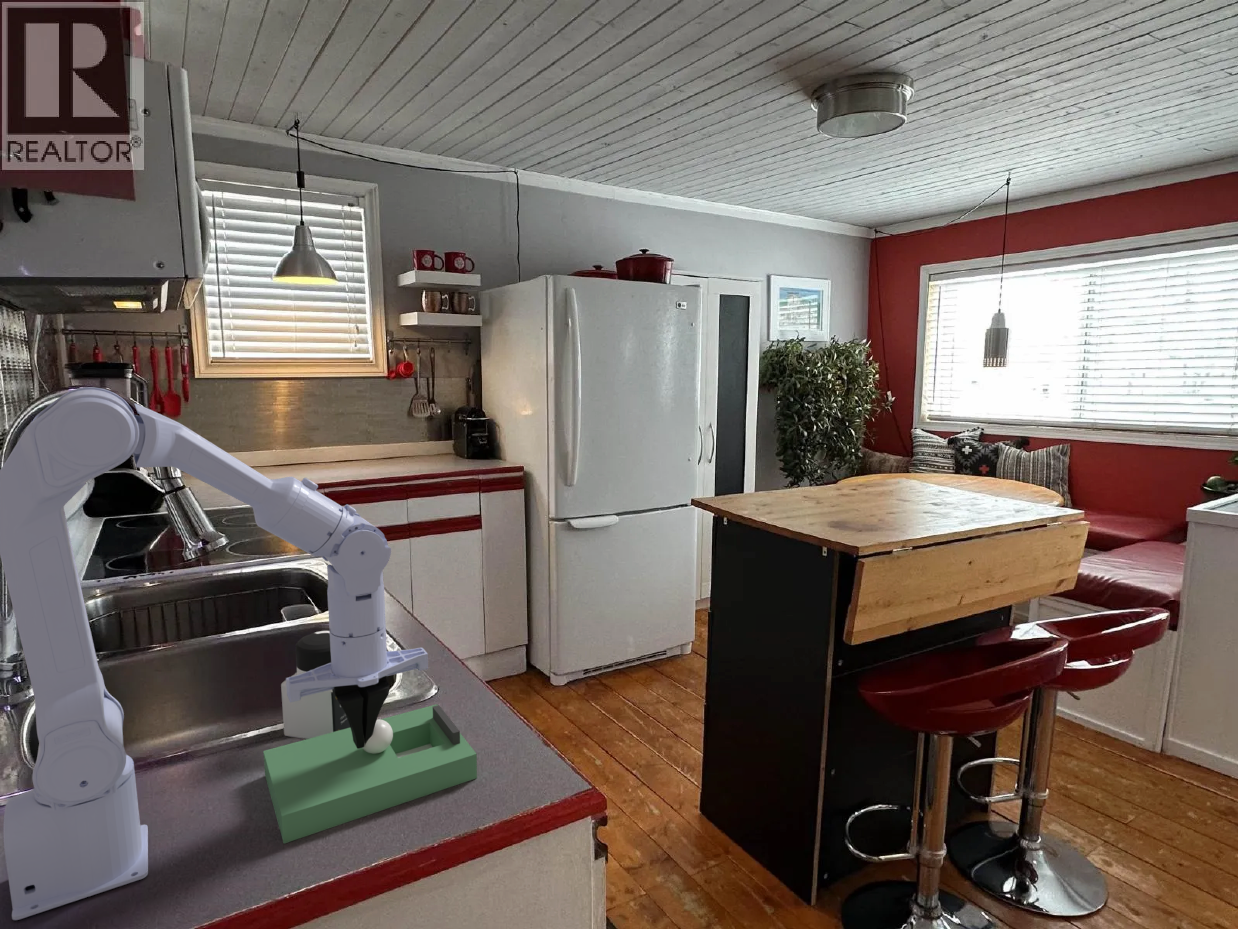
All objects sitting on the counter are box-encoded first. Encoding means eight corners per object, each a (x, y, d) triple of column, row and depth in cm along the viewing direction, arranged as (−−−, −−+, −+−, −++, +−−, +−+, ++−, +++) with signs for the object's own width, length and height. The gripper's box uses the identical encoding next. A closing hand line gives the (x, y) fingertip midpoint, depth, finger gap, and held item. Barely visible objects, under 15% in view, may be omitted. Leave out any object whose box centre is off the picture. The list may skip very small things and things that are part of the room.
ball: (362, 734, 76) (395, 724, 78) (354, 719, 79) (386, 710, 81) (365, 764, 77) (397, 753, 79) (356, 748, 80) (388, 738, 82)
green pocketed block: (283, 843, 68) (280, 802, 68) (264, 775, 79) (262, 738, 78) (476, 778, 79) (476, 741, 79) (437, 725, 90) (436, 693, 89)
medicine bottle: (334, 744, 86) (330, 651, 84) (282, 737, 87) (277, 645, 85) (366, 715, 92) (363, 628, 90) (318, 708, 94) (313, 623, 92)
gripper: (291, 656, 69) (299, 782, 71) (435, 625, 77) (439, 740, 79) (279, 631, 74) (287, 748, 77) (415, 605, 82) (419, 712, 85)
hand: (363, 742), depth 78 cm, fingers closed, pressing on ball
